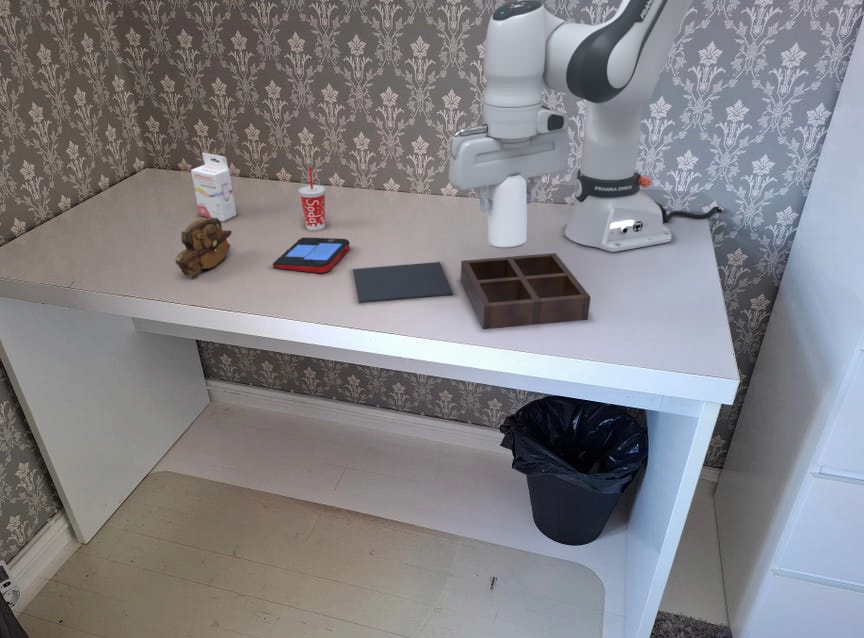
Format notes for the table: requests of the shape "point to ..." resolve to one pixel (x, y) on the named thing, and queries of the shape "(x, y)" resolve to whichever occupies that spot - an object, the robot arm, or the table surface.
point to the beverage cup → (313, 205)
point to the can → (508, 213)
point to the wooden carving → (203, 245)
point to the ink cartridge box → (214, 188)
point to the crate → (523, 291)
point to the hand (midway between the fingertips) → (506, 206)
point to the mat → (401, 282)
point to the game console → (313, 255)
